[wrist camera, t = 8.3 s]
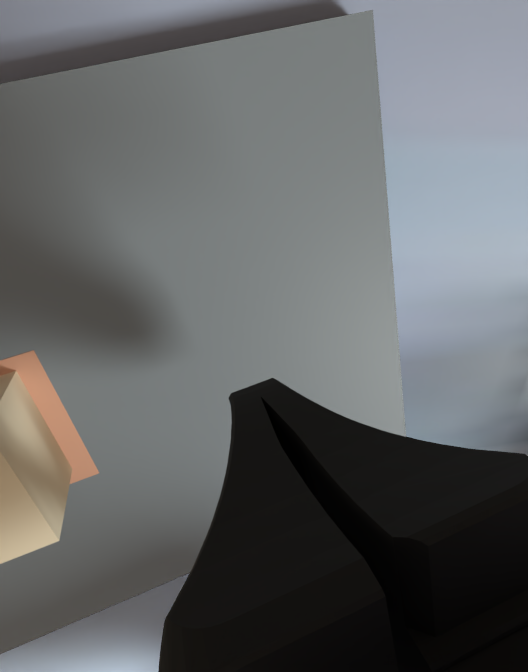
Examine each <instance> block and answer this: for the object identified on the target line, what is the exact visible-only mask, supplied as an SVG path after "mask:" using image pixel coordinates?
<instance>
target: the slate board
mask: <svg viewBox="0 0 528 672" xmlns="http://www.w3.org/2000/svg"><path fill="white" fill-rule="evenodd" d="M14 371H17V373H18V374H19V376H20V378H21V380H22V381H23V383H24V385H25V387H26V389H27V390H28V392H29V394H30V396H31V397H32V399H33V401H34V403H35V404H36V406H37V408H38V410H39V411H40V413H41V415H42V417H43V418H44V420H45V422H46V424H47V425H48V427H49V429H50V431H51V432H52V434H53V436H54V438H55V439H56V441H57V443H58V445H59V446H60V448H61V450H62V452H63V453H64V455H65V457H66V459H67V460H68V462H69V464H70V466H71V467H72V474H71V480H70V485H69V491H68V496H67V501H66V507H65V512H64V518H63V523H62V529H61V534H60V540H59V541H58V542H55V543H52V544H50V545H47V546H45V547H42V548H40V549H37V550H35V551H32V552H30V553H27V554H25V555H22V556H19V557H17V558H14V559H12V560H9V561H7V562H4V563H2V564H0V654H2V653H4V652H6V651H9V650H11V649H13V648H16V647H18V646H20V645H23V644H25V643H27V642H30V641H32V640H34V639H37V638H39V637H41V636H44V635H46V634H48V633H50V632H53V631H55V630H57V629H60V628H62V627H64V626H67V625H69V624H71V623H74V622H76V621H78V620H81V619H83V618H85V617H88V616H90V615H92V614H95V613H97V612H99V611H102V610H104V609H106V608H109V607H111V606H113V605H116V604H118V603H120V602H122V601H125V600H127V599H129V598H132V597H134V596H136V595H139V594H141V593H143V592H146V591H148V590H150V589H153V588H155V587H157V586H160V585H162V584H164V583H167V582H169V581H171V580H174V579H176V578H178V577H181V576H183V575H185V574H188V573H190V572H191V570H192V568H193V566H194V563H195V561H196V559H197V556H198V554H199V552H200V549H201V547H202V545H203V542H204V540H205V538H206V535H207V533H208V530H209V528H210V525H211V522H212V520H213V517H214V513H215V510H216V507H217V504H218V501H219V498H220V494H221V490H222V486H223V483H224V478H225V474H226V469H227V463H228V456H229V449H230V441H231V425H232V417H231V405H230V401H229V396H230V394H231V393H233V392H236V391H238V390H241V389H244V388H246V387H249V386H252V385H254V384H257V383H260V382H262V381H265V380H268V379H271V378H274V379H276V380H278V381H280V382H281V383H283V384H284V385H286V386H288V387H289V388H291V389H292V390H294V391H296V392H297V393H299V394H301V395H303V396H304V397H306V398H308V399H310V400H312V401H313V402H315V403H317V404H319V405H321V406H323V407H325V408H327V409H329V410H331V411H333V412H335V413H337V414H340V415H342V416H344V417H346V418H349V419H351V420H354V421H356V422H359V423H362V424H365V425H368V426H371V427H374V428H377V429H380V430H383V431H386V432H390V433H393V434H397V435H401V436H405V437H406V431H405V418H404V405H403V392H402V379H401V367H400V354H399V341H398V328H397V315H396V302H395V290H394V277H393V264H392V251H391V238H390V226H389V213H388V200H387V187H386V174H385V161H384V149H383V136H382V123H381V110H380V97H379V84H378V72H377V59H376V46H375V33H374V20H373V10H370V11H365V12H360V13H355V14H350V15H345V16H340V17H335V18H330V19H325V20H320V21H315V22H310V23H305V24H300V25H294V26H289V27H284V28H279V29H274V30H269V31H264V32H259V33H254V34H249V35H244V36H239V37H234V38H229V39H224V40H219V41H214V42H209V43H204V44H199V45H194V46H189V47H183V48H178V49H173V50H168V51H163V52H158V53H153V54H148V55H143V56H138V57H133V58H128V59H123V60H118V61H113V62H108V63H103V64H98V65H93V66H88V67H83V68H77V69H72V70H67V71H62V72H57V73H52V74H47V75H42V76H37V77H32V78H27V79H22V80H17V81H12V82H7V83H2V84H0V376H1V375H4V374H7V373H11V372H14Z"/></svg>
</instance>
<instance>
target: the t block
mask: <svg viewBox="0 0 528 672" xmlns="http://www.w3.org/2000/svg"><path fill="white" fill-rule="evenodd" d="M71 474H72V467H71V466H70V464H69V462H68V460H67V459H66V457H65V455H64V453H63V452H62V450H61V448H60V446H59V445H58V443H57V441H56V439H55V438H54V436H53V434H52V432H51V431H50V429H49V427H48V425H47V424H46V422H45V420H44V418H43V417H42V415H41V413H40V411H39V410H38V408H37V406H36V404H35V403H34V401H33V399H32V397H31V396H30V394H29V392H28V390H27V389H26V387H25V385H24V383H23V381H22V380H21V378H20V376H19V374H18V373H17V371H14V372H11V373H7V374H4V375H1V376H0V564H2V563H4V562H7V561H9V560H12V559H14V558H17V557H19V556H22V555H25V554H27V553H30V552H32V551H35V550H37V549H40V548H42V547H45V546H47V545H50V544H52V543H55V542H58V541H59V540H60V534H61V529H62V523H63V518H64V512H65V507H66V501H67V496H68V491H69V485H70V480H71Z"/></svg>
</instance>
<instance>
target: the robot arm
mask: <svg viewBox="0 0 528 672" xmlns="http://www.w3.org/2000/svg"><path fill="white" fill-rule="evenodd" d="M229 401H230V405H231V417H232V425H231V441H230V449H229V456H228V463H227V469H226V474H225V478H224V483H223V486H222V490H221V494H220V498H219V501H218V504H217V507H216V510H215V513H214V517H213V520H212V522H211V525H210V528H209V530H208V533H207V535H206V538H205V540H204V542H203V545H202V547H201V549H200V552H199V554H198V556H197V559H196V561H195V563H194V566H193V568H192V570H191V572H190V574H189V576H188V578H187V580H186V582H185V584H184V585H183V587H182V589H181V591H180V593H179V595H178V597H177V599H176V600H175V602H174V604H173V606H172V608H171V610H170V612H169V613H168V615H167V617H166V619H165V622H164V628H163V635H162V643H161V651H160V661H159V672H528V456H527V455H525V454H520V453H509V452H498V451H487V450H476V449H468V448H461V447H455V446H448V445H442V444H437V443H432V442H426V441H421V440H417V439H413V438H409V437H405V436H401V435H397V434H393V433H390V432H386V431H383V430H380V429H377V428H374V427H371V426H368V425H365V424H362V423H359V422H356V421H354V420H351V419H349V418H346V417H344V416H342V415H340V414H337V413H335V412H333V411H331V410H329V409H327V408H325V407H323V406H321V405H319V404H317V403H315V402H313V401H312V400H310V399H308V398H306V397H304V396H303V395H301V394H299V393H297V392H296V391H294V390H292V389H291V388H289V387H288V386H286V385H284V384H283V383H281V382H280V381H278V380H276V379H274V378H271V379H268V380H265V381H262V382H260V383H257V384H254V385H252V386H249V387H246V388H244V389H241V390H238V391H236V392H233V393H231V394H230V396H229Z"/></svg>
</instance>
